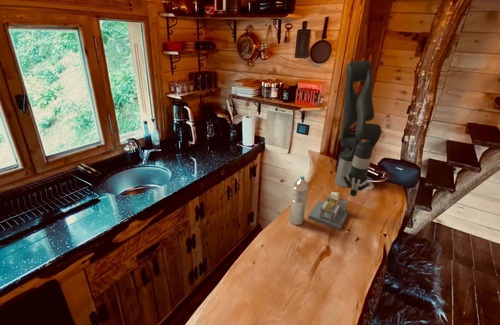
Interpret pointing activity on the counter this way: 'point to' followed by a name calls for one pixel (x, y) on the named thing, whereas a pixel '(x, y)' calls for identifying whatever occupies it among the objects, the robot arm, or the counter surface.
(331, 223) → the clip base
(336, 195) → the latch
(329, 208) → the tan flat bar
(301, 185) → the water bottle
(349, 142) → the robot arm
